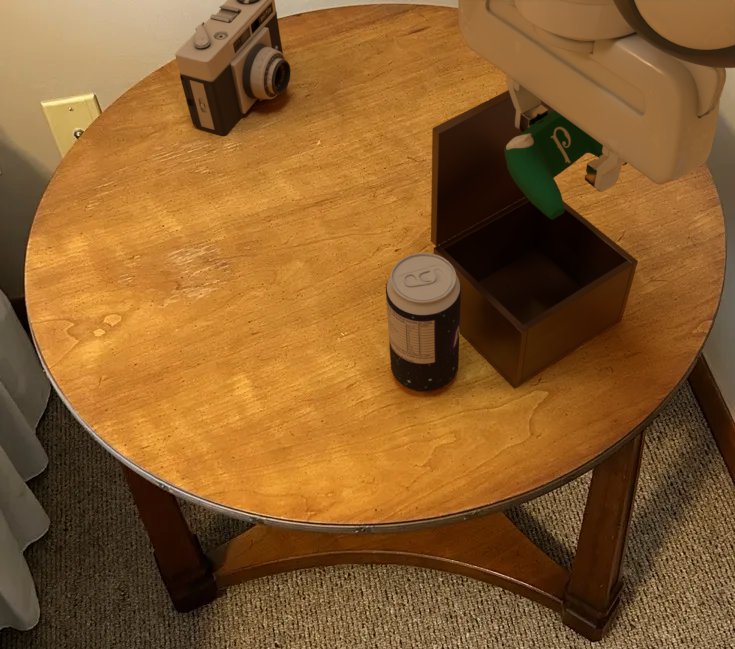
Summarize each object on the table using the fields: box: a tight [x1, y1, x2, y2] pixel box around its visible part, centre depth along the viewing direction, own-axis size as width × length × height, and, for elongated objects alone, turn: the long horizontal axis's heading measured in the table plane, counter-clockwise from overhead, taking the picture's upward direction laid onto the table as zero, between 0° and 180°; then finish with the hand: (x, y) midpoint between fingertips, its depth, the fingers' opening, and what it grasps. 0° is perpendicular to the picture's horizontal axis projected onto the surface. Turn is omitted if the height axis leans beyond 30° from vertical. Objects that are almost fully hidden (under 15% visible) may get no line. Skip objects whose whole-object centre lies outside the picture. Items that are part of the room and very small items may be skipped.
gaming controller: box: [504, 111, 628, 220], centre depth 61 cm, size 9×4×6 cm
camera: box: [174, 0, 291, 137], centre depth 94 cm, size 14×8×10 cm, turn 154°
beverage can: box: [385, 252, 461, 393], centre depth 69 cm, size 6×6×12 cm
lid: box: [430, 89, 555, 247], centre depth 69 cm, size 12×12×1 cm
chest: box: [433, 197, 639, 389], centre depth 74 cm, size 11×12×8 cm
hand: (563, 155), depth 61 cm, fingers closed on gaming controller, 6 cm apart
